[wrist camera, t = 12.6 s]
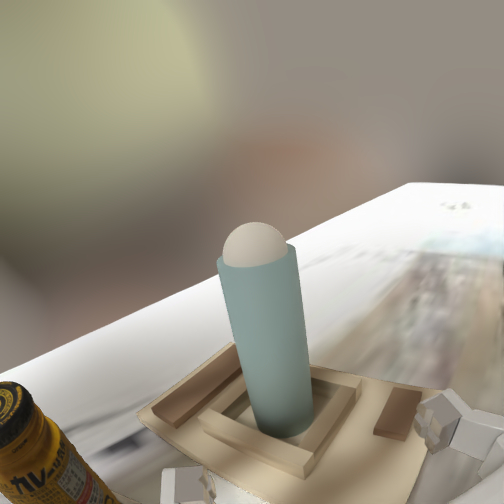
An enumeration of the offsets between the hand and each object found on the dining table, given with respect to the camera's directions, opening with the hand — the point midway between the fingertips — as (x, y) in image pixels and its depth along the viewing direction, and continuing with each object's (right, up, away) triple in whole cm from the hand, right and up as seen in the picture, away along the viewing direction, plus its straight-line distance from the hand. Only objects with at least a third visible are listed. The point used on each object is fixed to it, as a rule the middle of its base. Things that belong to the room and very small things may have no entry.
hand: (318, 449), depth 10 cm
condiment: (-12, -12, +3) cm, 18 cm away
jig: (0, -6, +12) cm, 14 cm away
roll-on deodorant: (0, -5, +12) cm, 13 cm away
